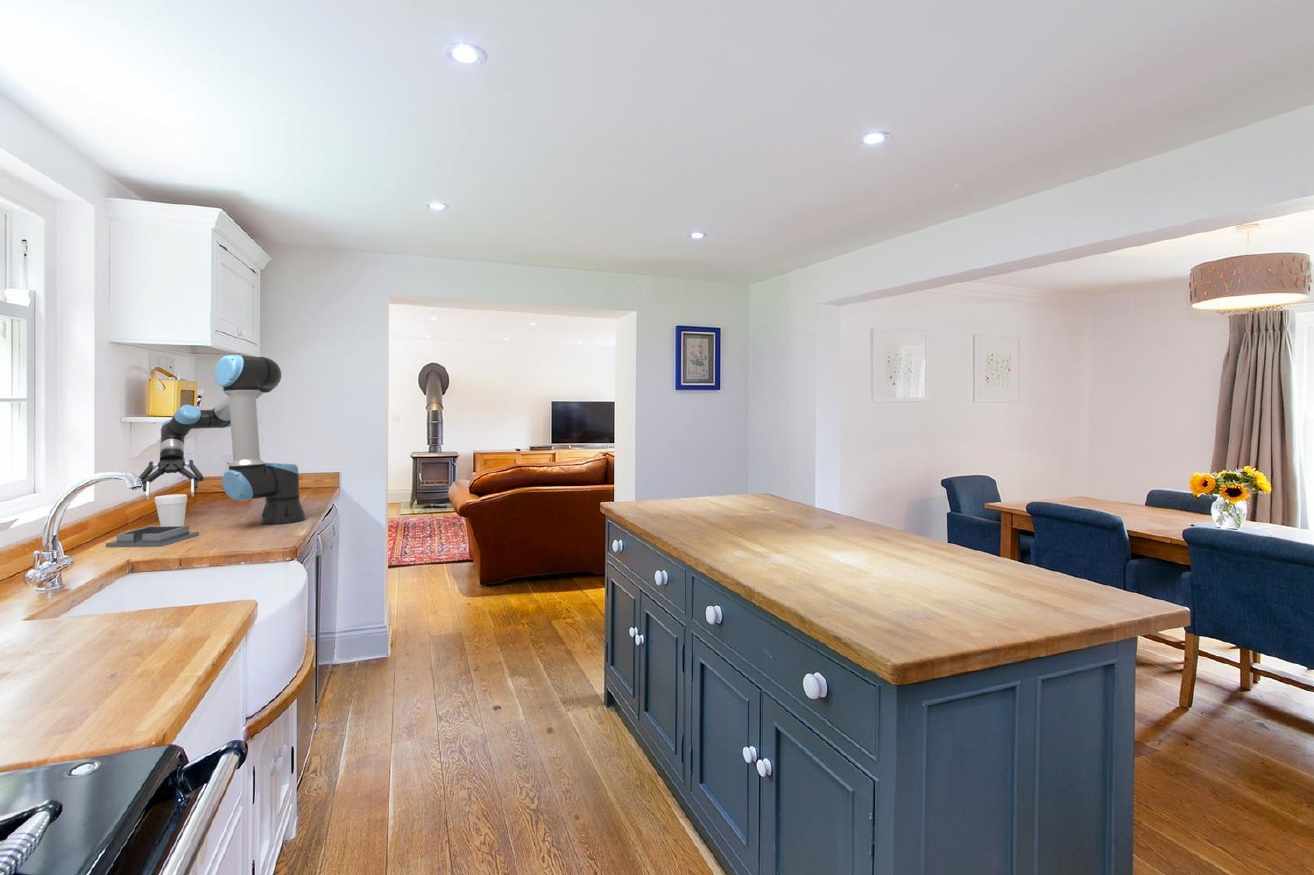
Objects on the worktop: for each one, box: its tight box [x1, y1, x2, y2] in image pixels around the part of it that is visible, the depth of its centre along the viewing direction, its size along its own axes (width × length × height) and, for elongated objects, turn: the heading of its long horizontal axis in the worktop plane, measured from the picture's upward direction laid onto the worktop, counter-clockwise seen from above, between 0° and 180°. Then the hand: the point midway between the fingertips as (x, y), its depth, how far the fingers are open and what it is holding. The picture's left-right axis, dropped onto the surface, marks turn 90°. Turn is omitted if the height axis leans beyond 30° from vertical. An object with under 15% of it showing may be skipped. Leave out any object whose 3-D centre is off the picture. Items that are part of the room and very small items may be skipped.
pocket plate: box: [105, 525, 200, 548], centre depth 223 cm, size 18×18×4 cm
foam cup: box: [154, 493, 188, 526], centre depth 240 cm, size 10×9×13 cm
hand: (170, 495), depth 245 cm, fingers open, 13 cm apart
